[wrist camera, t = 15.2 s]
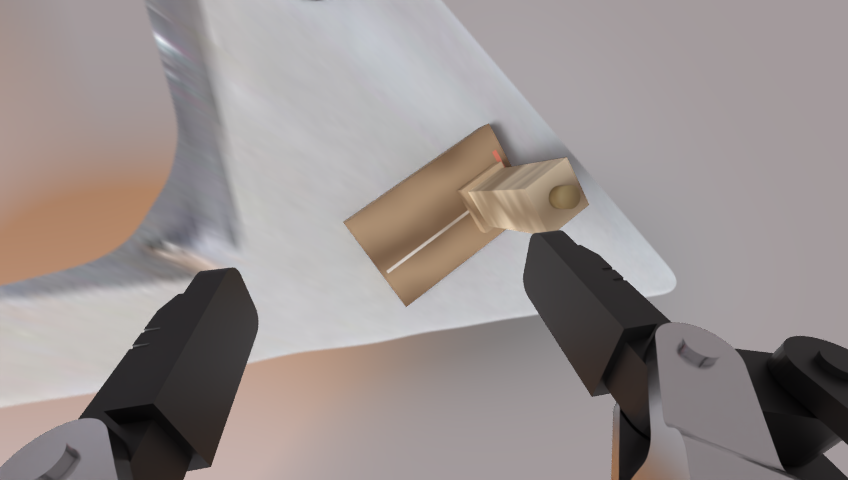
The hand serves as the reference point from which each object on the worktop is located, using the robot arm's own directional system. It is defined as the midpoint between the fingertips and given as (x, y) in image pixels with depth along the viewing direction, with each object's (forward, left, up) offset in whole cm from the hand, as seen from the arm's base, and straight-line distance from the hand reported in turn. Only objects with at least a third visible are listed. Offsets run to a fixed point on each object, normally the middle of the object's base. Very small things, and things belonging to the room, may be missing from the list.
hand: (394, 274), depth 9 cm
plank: (+5, +8, -22) cm, 24 cm away
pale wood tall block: (+6, +13, -20) cm, 25 cm away
